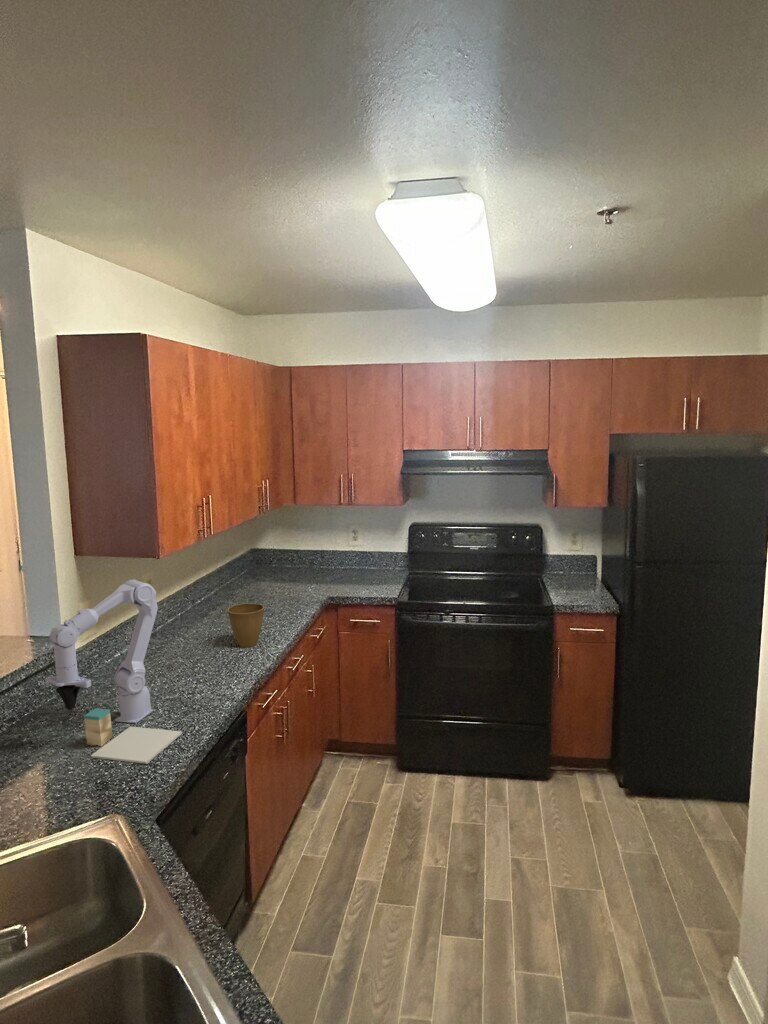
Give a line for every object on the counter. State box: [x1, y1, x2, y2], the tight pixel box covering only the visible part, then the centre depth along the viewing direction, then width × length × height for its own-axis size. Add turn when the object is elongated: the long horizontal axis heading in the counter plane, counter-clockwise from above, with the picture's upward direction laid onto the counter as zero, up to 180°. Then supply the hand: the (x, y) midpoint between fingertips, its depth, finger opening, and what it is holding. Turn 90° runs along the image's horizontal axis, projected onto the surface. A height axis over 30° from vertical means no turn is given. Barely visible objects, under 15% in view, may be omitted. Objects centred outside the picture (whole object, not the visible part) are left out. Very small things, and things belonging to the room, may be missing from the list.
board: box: [90, 726, 183, 765], centre depth 192 cm, size 18×18×1 cm
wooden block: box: [83, 708, 114, 747], centre depth 195 cm, size 5×5×9 cm
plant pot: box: [227, 602, 265, 648], centre depth 275 cm, size 15×15×16 cm
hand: (71, 708), depth 197 cm, fingers closed
